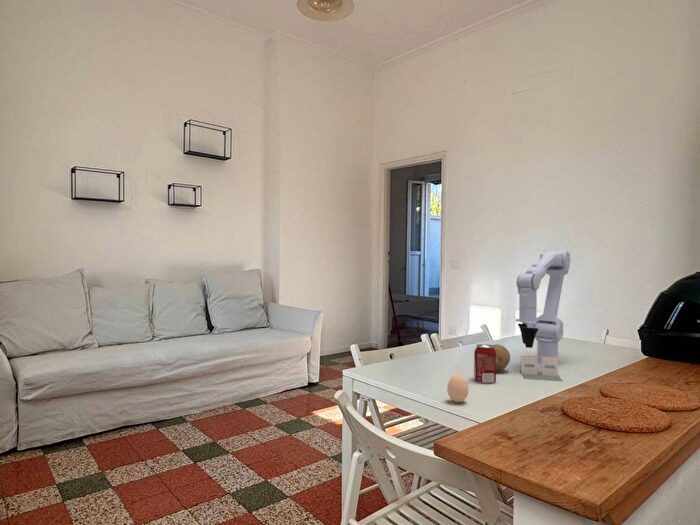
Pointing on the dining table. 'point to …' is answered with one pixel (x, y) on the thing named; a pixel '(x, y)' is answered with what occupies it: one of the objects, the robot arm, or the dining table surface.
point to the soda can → (485, 364)
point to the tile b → (549, 366)
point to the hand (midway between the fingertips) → (527, 345)
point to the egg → (457, 388)
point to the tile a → (529, 365)
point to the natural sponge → (501, 357)
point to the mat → (541, 377)
